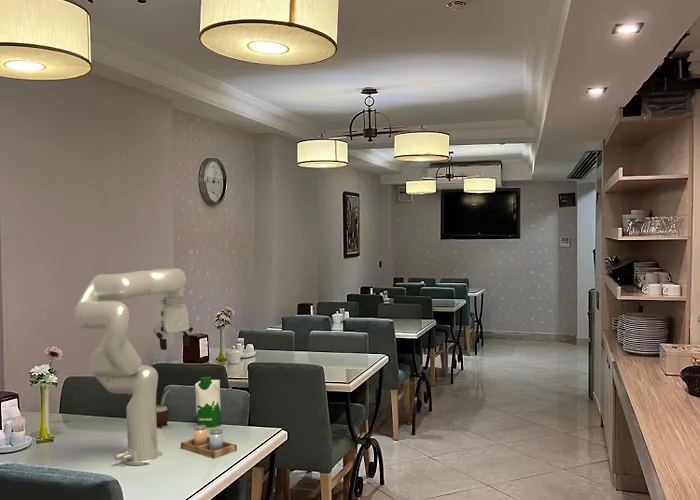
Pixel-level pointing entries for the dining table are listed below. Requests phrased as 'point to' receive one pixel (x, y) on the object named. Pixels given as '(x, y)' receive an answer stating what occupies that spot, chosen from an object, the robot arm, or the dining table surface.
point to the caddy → (208, 448)
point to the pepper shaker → (200, 435)
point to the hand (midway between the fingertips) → (175, 347)
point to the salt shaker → (216, 439)
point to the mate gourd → (162, 414)
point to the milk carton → (208, 402)
